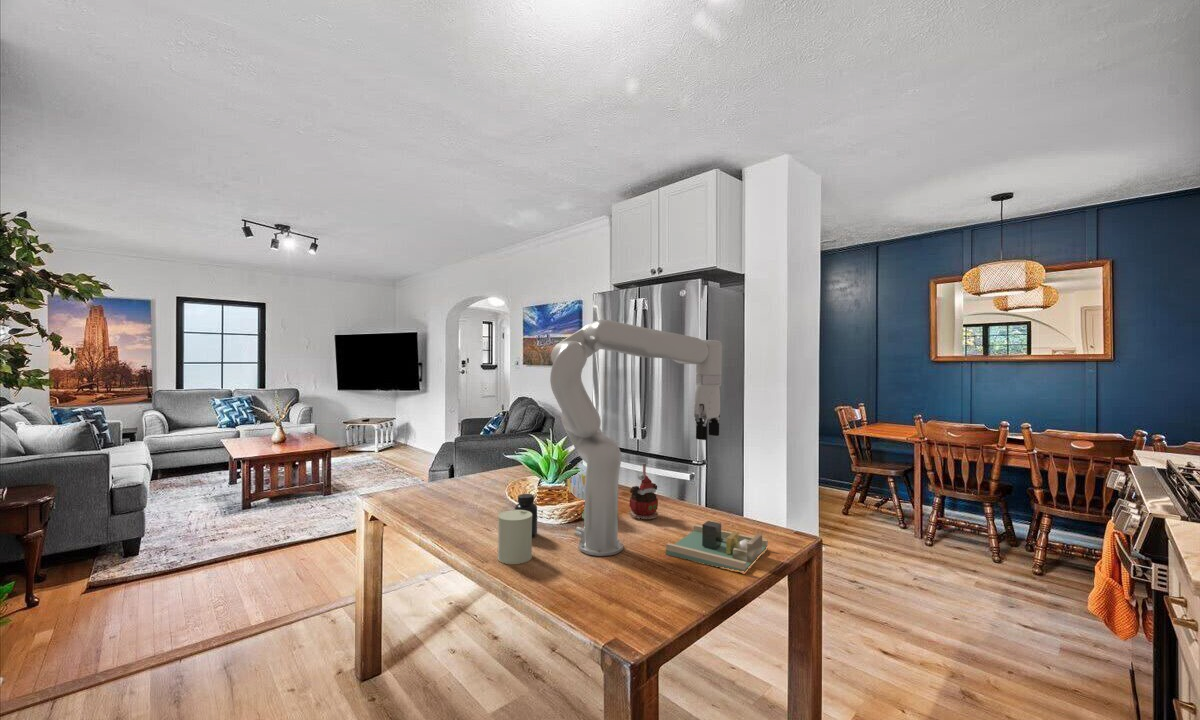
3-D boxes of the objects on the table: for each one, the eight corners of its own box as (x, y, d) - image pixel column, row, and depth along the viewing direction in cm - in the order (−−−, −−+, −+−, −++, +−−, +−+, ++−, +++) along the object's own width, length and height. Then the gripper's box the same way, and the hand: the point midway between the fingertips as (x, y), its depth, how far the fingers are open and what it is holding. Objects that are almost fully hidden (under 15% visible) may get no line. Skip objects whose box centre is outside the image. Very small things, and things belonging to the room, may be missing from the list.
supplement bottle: (539, 531, 154) (539, 493, 154) (534, 539, 148) (534, 499, 147) (517, 530, 155) (518, 492, 155) (511, 538, 148) (512, 498, 148)
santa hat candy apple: (646, 510, 177) (647, 459, 177) (664, 517, 170) (665, 464, 170) (622, 515, 172) (623, 462, 171) (639, 523, 164) (640, 468, 164)
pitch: (665, 554, 138) (666, 544, 138) (695, 533, 155) (695, 524, 155) (744, 574, 126) (744, 563, 126) (767, 549, 142) (767, 540, 142)
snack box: (601, 520, 166) (601, 474, 166) (585, 521, 164) (585, 476, 164) (579, 502, 186) (580, 461, 186) (565, 503, 184) (566, 463, 184)
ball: (744, 540, 134) (750, 553, 133) (748, 536, 137) (755, 549, 136) (733, 545, 136) (739, 558, 135) (737, 541, 139) (743, 553, 138)
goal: (732, 558, 133) (733, 540, 133) (744, 547, 141) (744, 530, 141) (751, 562, 130) (751, 544, 130) (761, 551, 138) (762, 534, 138)
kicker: (700, 547, 140) (700, 525, 140) (709, 540, 145) (709, 519, 145) (730, 554, 135) (730, 532, 135) (738, 547, 140) (738, 525, 140)
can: (539, 556, 136) (539, 511, 136) (515, 567, 128) (516, 520, 128) (514, 548, 141) (515, 505, 141) (490, 558, 133) (490, 514, 133)
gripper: (707, 379, 160) (707, 432, 161) (685, 381, 146) (684, 439, 146) (730, 380, 156) (729, 435, 156) (709, 382, 142) (708, 442, 142)
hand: (707, 437), depth 151 cm, fingers open, 9 cm apart
